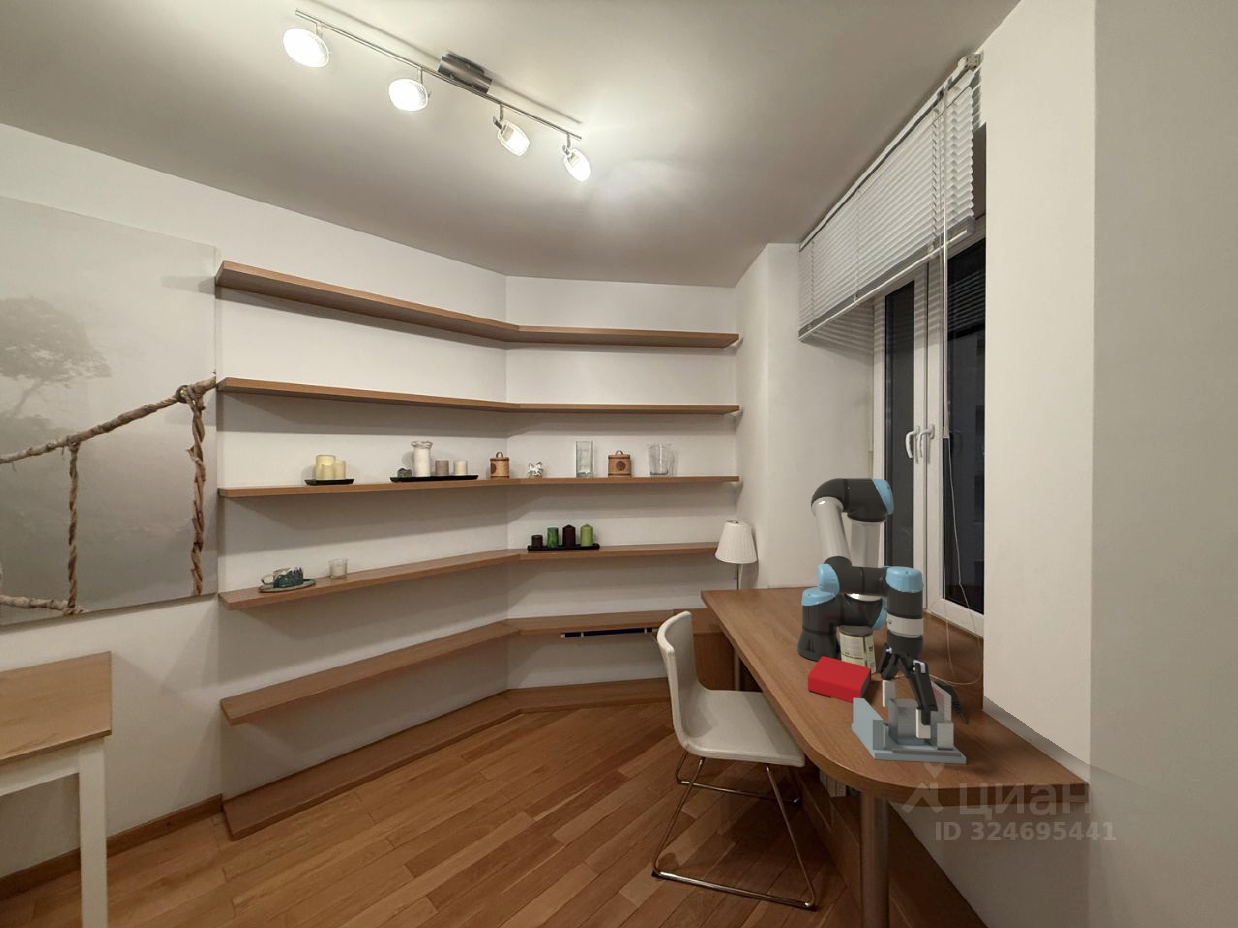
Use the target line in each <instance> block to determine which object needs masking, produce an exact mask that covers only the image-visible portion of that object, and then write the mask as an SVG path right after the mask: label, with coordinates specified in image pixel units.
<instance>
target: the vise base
mask: <svg viewBox="0 0 1238 928" xmlns="http://www.w3.org/2000/svg"><path fill="white" fill-rule="evenodd" d="M851 730H852V731H853V733H854V735H856V737H857V738H858V739H859V740H860V742H861V744H863V746H864V747H865V749H866V750H867V751H868V752H869V755H871V757H872V758H873V759H874V760H884V761H885V760H887V761H903V762H904V761H905V762H925V763H926V762H927V763H944V764H945V763H946V764H962V765H967V757H966V756H965V755H964V754H963V753H962V752H961V751H960V750H959V749H958V748H957V747H956V746H955V745H953V751H942V750H936V749H935V748H934V747H933V746H932V745H931V744H930V743H929V742H928V741H927V740H926V739H925V738H924V746H915V745H897V744H896V743H895V741H894V740H893V739H892V738H891V737H890V736H889V735H888V721H885V720H884V719H883V717H882V716H881V715H880V714H879V713H878V712H877V711H876V710H875V709H874V708H873V707H872V706H871V705H870V703H869V702H868V701H867V700H866V698H863V697H862V698H854V703H853V722H851Z"/></svg>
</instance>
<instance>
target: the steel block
mask: <svg viewBox="0 0 1238 928" xmlns="http://www.w3.org/2000/svg"><path fill="white" fill-rule="evenodd" d="M916 707H918V704H917V701H916V699H915V698H896V697H895V698H888V707H887V708H888V709H887V710H888V713H887V715H888V717H887V718H888V720H887V722H888V735H889V736H890V737H891V738H892V739H893V740H894V741H895V743H896V744H897V745H915V746H924V738H918V737H917V736H916Z"/></svg>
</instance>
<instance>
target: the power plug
mask: <svg viewBox="0 0 1238 928" xmlns="http://www.w3.org/2000/svg"><path fill="white" fill-rule="evenodd" d="M933 682H934V683H935V684H936V685H937V686H939V687H940V688H941V689H943V690H944V691H945V692H947V693H948V694H949V695H951V708H952V709H953V710H954V712H955V713H956V714H957V715H960V717H961V718H962V721H963V722H964V723H965V725H966V724H967V725H968V724H969V722H968V720H967V719H966V716H965V715H964V712H965V711H964V710H963V707H962V704H961V700H959V698H958V697H959V696H958V694H957V693H956V691H955V690H954V687H953V686H952V685H951V684H948V683H946V682H945V681H943V680H935V681H933Z"/></svg>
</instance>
